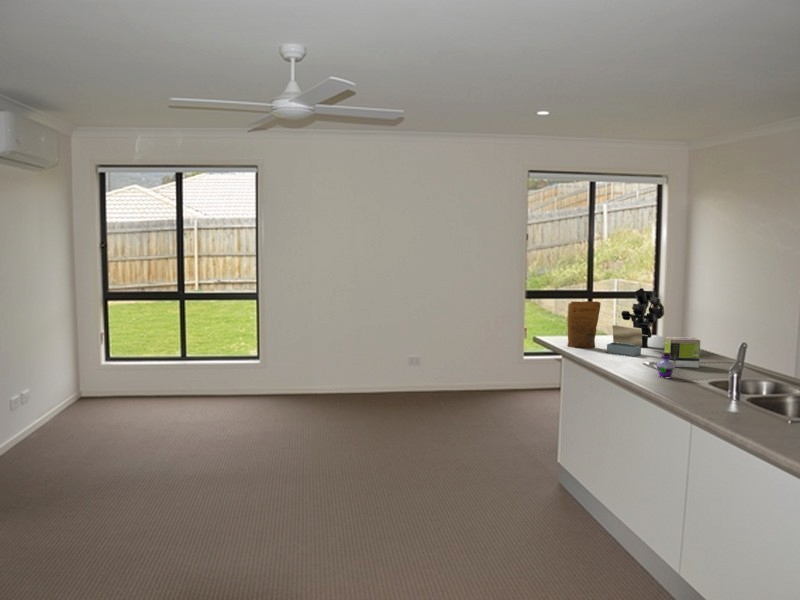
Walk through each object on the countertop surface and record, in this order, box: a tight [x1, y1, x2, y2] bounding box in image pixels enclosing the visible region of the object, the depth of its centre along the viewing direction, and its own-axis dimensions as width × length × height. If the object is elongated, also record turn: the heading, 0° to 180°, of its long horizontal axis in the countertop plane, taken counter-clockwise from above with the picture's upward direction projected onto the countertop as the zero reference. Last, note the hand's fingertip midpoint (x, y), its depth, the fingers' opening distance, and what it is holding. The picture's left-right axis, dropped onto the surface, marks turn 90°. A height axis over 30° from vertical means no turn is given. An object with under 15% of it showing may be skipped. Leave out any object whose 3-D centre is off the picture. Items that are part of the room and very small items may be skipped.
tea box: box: [663, 336, 701, 369], centre depth 332 cm, size 15×10×15 cm
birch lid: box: [611, 324, 642, 346], centre depth 364 cm, size 10×16×1 cm
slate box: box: [606, 341, 642, 358], centre depth 362 cm, size 10×16×5 cm, turn 51°
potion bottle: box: [656, 351, 676, 378], centre depth 305 cm, size 9×9×12 cm
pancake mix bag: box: [566, 300, 601, 349], centre depth 377 cm, size 7×19×28 cm, turn 83°
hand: (634, 327), depth 372 cm, fingers closed
